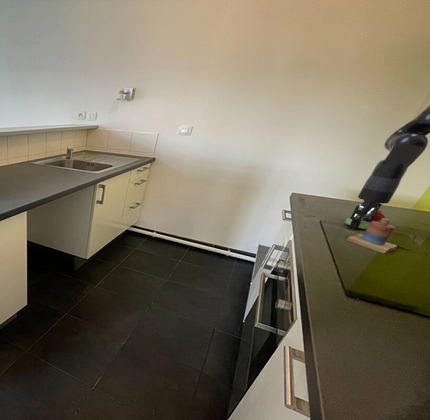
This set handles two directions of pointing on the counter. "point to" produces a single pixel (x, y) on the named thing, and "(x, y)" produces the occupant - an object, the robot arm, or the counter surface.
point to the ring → (362, 224)
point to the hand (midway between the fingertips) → (356, 228)
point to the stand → (375, 236)
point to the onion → (377, 217)
